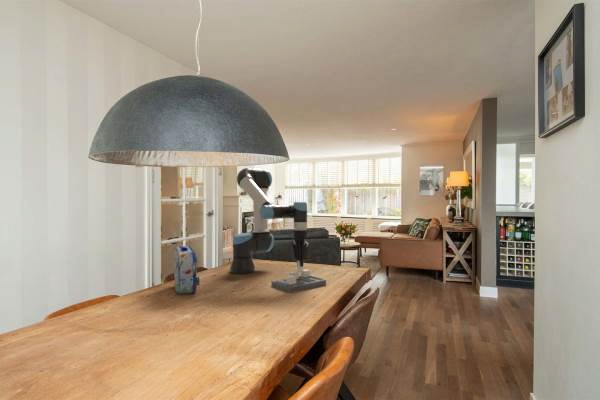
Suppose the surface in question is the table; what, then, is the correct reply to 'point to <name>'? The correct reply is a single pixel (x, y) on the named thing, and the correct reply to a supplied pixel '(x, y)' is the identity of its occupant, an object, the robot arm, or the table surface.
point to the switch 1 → (291, 280)
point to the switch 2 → (305, 273)
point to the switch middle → (295, 274)
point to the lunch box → (185, 270)
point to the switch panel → (299, 283)
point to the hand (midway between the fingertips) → (300, 272)
